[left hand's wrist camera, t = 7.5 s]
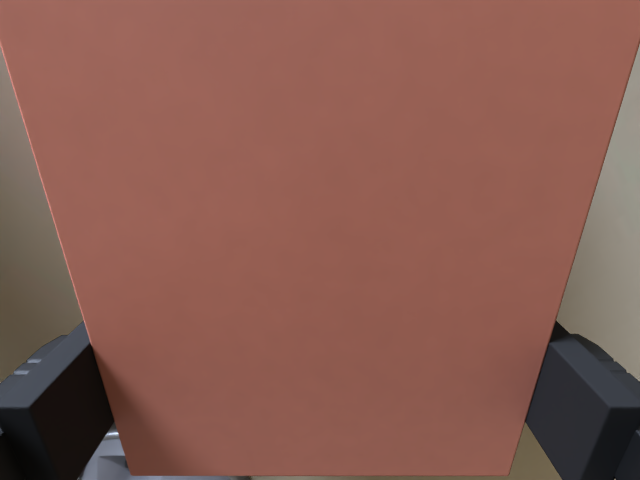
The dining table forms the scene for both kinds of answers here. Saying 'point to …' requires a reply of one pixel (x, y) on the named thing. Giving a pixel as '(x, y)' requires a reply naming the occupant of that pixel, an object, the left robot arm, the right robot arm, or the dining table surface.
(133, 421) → the cabinet
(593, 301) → the dining table surface
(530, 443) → the dining table surface
